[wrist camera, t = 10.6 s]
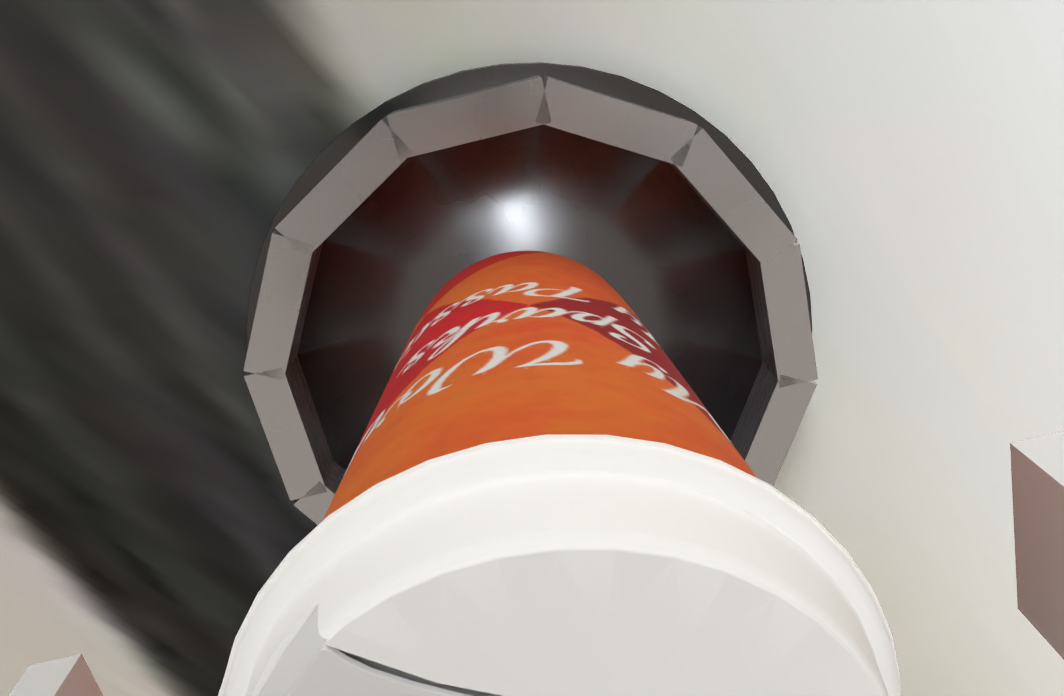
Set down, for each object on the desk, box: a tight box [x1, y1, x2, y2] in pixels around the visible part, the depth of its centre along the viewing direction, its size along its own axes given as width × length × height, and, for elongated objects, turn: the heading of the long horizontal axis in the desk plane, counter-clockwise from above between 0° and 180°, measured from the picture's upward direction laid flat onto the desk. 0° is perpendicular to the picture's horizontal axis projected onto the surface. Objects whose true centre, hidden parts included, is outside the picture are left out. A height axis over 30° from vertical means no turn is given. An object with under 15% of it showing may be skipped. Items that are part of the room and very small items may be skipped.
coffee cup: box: [218, 251, 900, 696], centre depth 17 cm, size 8×8×15 cm
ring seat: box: [243, 62, 818, 525], centre depth 23 cm, size 15×15×2 cm
